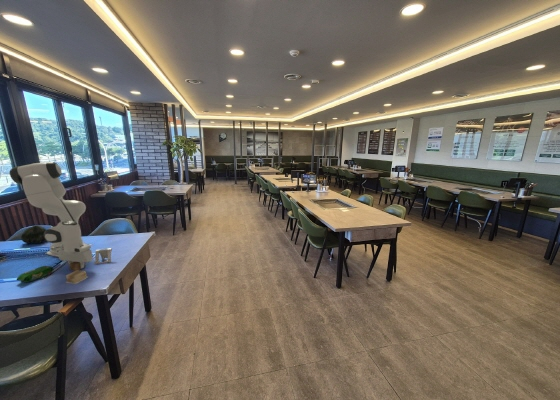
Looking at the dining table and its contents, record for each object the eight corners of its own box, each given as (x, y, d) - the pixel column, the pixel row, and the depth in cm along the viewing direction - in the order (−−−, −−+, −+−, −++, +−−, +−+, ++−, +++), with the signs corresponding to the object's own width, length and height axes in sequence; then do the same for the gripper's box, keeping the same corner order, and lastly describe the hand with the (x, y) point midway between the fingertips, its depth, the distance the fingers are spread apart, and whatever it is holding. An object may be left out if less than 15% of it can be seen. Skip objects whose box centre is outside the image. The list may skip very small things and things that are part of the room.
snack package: (14, 284, 125) (12, 275, 124) (49, 270, 140) (47, 262, 139) (22, 286, 124) (20, 278, 122) (57, 272, 138) (55, 264, 137)
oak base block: (67, 282, 127) (66, 275, 126) (77, 276, 133) (76, 270, 132) (76, 283, 126) (75, 276, 126) (86, 277, 132) (85, 271, 131)
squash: (25, 233, 184) (19, 223, 174) (51, 231, 193) (47, 221, 183) (23, 249, 178) (17, 239, 168) (50, 245, 186) (45, 236, 177)
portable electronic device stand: (94, 265, 148) (92, 253, 146) (98, 260, 155) (97, 248, 153) (110, 263, 151) (108, 251, 149) (113, 258, 158) (112, 247, 156)
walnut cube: (70, 271, 140) (68, 263, 139) (78, 267, 144) (76, 260, 143) (77, 271, 139) (76, 264, 138) (85, 267, 144) (83, 260, 143)
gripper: (53, 247, 137) (57, 268, 139) (83, 250, 134) (86, 271, 137) (64, 243, 143) (67, 263, 146) (93, 245, 141) (96, 266, 143)
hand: (77, 267), depth 141 cm, fingers closed on walnut cube, 5 cm apart
